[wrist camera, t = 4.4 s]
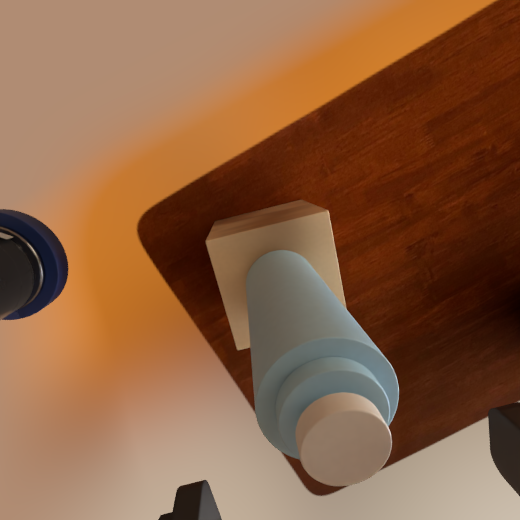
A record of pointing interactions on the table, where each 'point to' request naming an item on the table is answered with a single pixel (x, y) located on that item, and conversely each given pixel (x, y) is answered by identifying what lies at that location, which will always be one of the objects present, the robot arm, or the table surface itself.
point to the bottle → (316, 374)
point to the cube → (264, 241)
